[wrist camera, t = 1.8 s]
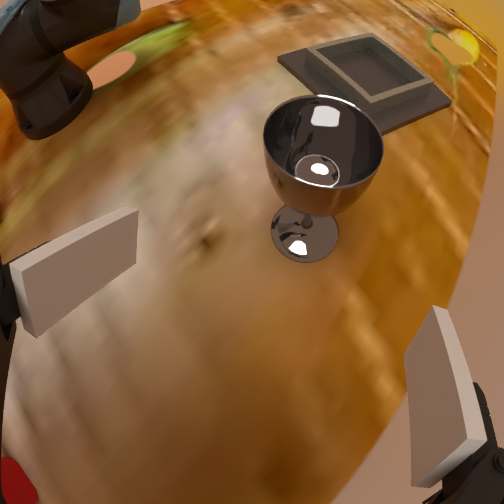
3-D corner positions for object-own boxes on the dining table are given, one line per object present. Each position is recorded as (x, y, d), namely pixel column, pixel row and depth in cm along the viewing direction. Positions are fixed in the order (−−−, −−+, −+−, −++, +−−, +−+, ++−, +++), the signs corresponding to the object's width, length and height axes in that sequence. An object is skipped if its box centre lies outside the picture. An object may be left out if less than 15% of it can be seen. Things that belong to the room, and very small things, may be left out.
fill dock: (277, 61, 43) (277, 43, 40) (368, 37, 46) (371, 22, 43) (363, 144, 37) (369, 126, 34) (450, 105, 39) (458, 90, 36)
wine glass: (356, 226, 33) (403, 135, 19) (312, 282, 31) (343, 212, 17) (298, 184, 35) (309, 80, 21) (251, 234, 33) (236, 140, 19)
